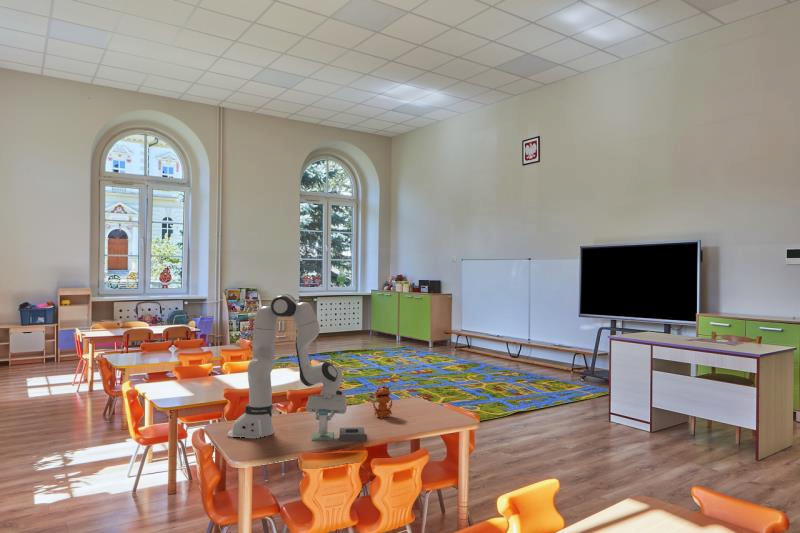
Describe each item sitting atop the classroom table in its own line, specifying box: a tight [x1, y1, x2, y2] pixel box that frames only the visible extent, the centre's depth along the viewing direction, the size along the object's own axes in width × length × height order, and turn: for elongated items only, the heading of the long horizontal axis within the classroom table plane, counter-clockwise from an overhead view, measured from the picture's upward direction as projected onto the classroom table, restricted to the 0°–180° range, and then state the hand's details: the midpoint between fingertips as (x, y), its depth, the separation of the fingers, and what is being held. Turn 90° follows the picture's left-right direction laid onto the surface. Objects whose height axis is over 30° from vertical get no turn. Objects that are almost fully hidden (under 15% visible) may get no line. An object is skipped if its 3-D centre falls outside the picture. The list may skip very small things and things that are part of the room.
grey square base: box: [338, 426, 366, 442], centre depth 267 cm, size 12×12×4 cm
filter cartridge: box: [318, 410, 329, 435], centre depth 267 cm, size 4×4×11 cm
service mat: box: [311, 431, 335, 442], centre depth 266 cm, size 10×12×2 cm
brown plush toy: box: [372, 385, 393, 418], centre depth 311 cm, size 11×11×18 cm
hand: (322, 419), depth 266 cm, fingers open, 4 cm apart
